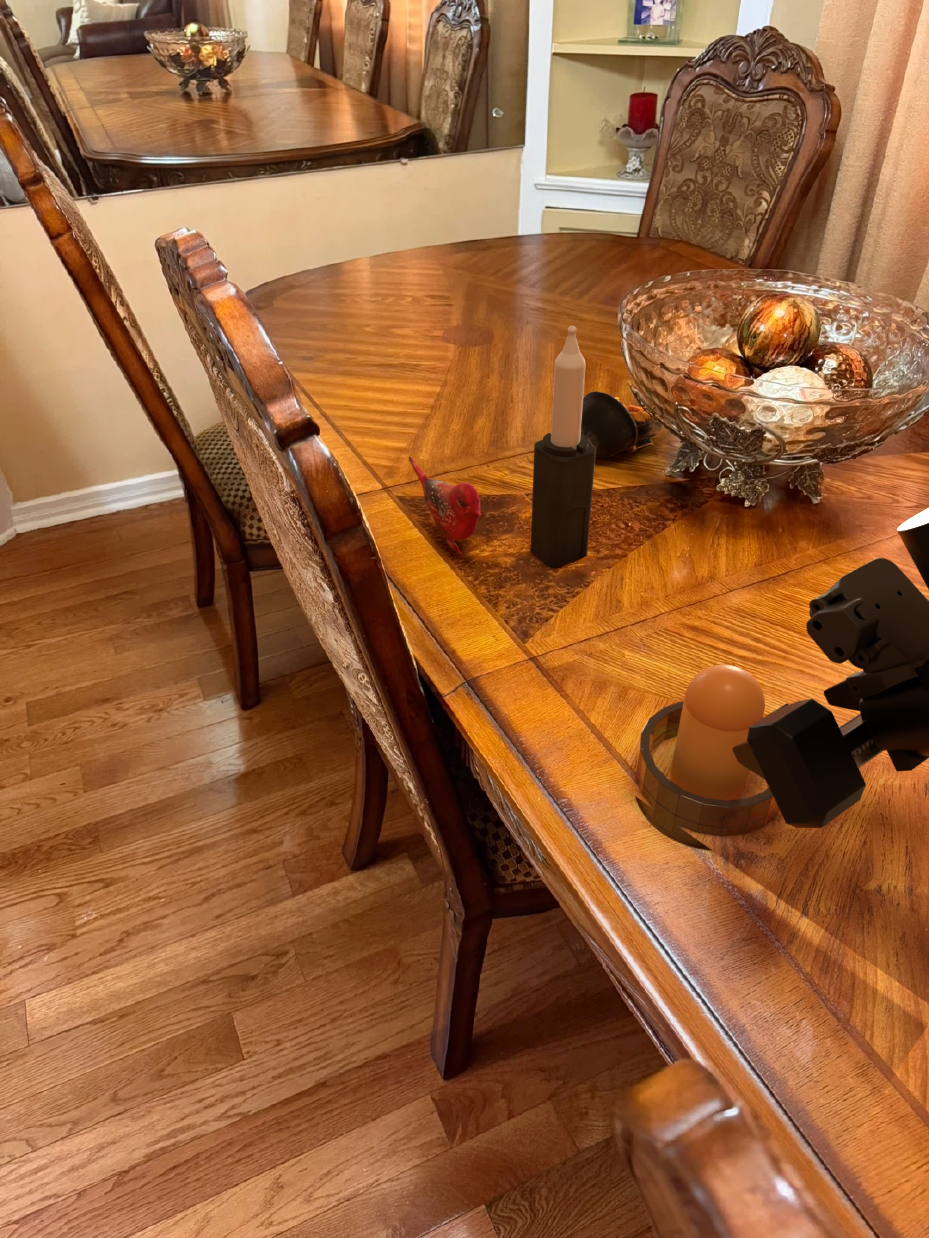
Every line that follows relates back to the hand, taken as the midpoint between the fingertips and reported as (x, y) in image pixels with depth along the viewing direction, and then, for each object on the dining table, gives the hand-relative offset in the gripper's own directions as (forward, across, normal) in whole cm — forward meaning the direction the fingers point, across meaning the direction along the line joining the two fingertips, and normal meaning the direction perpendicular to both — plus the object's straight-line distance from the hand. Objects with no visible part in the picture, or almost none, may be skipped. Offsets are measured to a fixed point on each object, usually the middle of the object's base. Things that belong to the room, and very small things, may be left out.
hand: (783, 724), depth 60 cm
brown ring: (+12, 0, +5) cm, 13 cm away
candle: (+35, -12, -19) cm, 42 cm away
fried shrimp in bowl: (+44, -36, -28) cm, 64 cm away
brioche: (+11, 0, +4) cm, 12 cm away
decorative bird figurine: (+42, -4, -26) cm, 49 cm away
